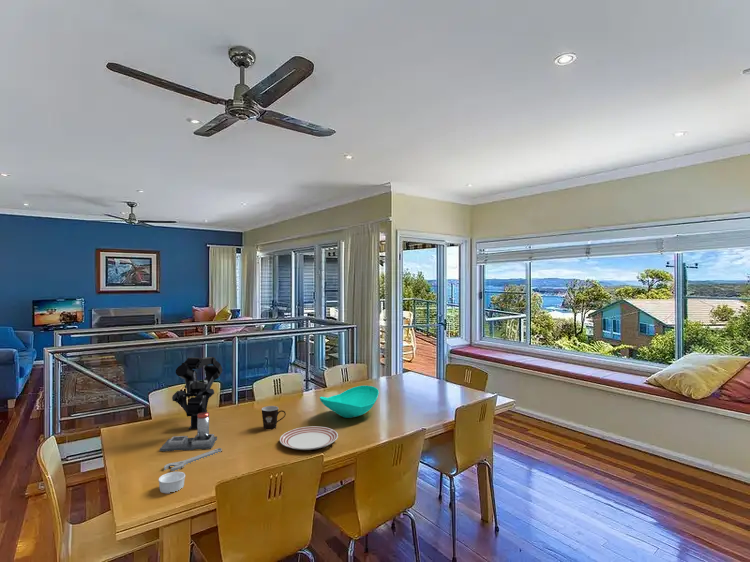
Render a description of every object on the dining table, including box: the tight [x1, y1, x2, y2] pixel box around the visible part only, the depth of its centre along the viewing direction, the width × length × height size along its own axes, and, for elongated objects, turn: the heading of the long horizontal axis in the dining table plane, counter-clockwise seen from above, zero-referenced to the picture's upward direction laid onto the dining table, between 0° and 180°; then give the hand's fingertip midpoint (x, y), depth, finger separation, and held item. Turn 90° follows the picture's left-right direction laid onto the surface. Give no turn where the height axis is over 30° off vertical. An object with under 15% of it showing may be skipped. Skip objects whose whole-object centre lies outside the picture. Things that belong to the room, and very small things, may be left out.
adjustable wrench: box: [163, 447, 223, 472], centre depth 174 cm, size 25×6×2 cm, turn 140°
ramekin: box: [158, 471, 186, 494], centre depth 151 cm, size 9×9×4 cm
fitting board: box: [159, 433, 218, 452], centre depth 191 cm, size 12×22×3 cm, turn 99°
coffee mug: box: [261, 405, 286, 430], centre depth 214 cm, size 12×9×10 cm
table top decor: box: [319, 385, 380, 419], centre depth 235 cm, size 40×28×13 cm
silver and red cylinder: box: [196, 411, 210, 440], centre depth 192 cm, size 5×5×13 cm
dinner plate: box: [279, 425, 339, 451], centre depth 195 cm, size 27×27×3 cm
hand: (196, 411), depth 198 cm, fingers open, 9 cm apart
